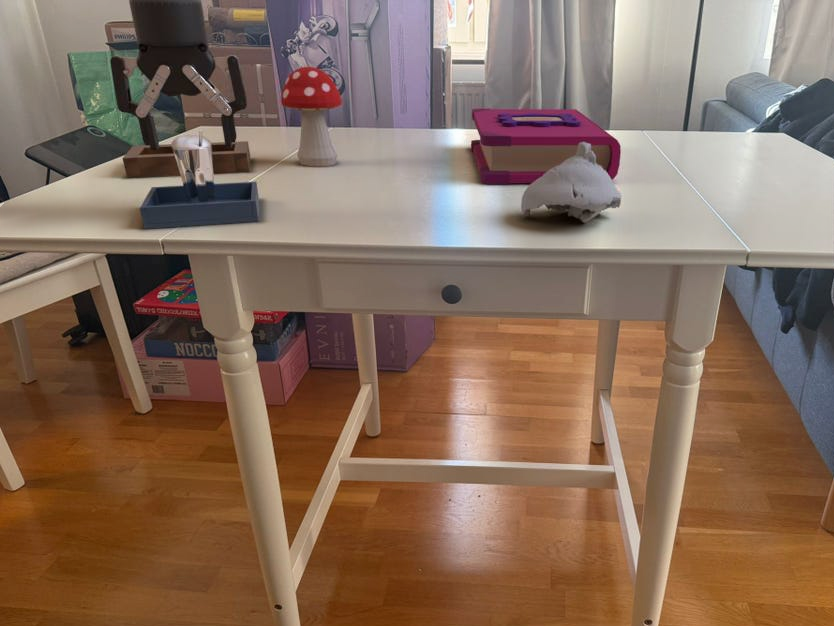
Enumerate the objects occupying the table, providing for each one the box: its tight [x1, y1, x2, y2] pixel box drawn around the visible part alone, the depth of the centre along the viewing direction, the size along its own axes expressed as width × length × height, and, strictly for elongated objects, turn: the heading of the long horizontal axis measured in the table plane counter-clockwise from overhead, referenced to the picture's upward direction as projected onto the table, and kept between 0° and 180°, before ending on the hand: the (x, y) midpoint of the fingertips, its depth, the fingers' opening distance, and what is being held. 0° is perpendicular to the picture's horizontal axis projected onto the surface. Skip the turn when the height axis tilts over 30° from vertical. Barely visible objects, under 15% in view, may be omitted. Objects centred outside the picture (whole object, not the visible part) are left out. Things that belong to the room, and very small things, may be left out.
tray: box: [139, 181, 260, 230], centre depth 86 cm, size 13×10×3 cm
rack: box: [121, 140, 251, 179], centre depth 109 cm, size 18×10×3 cm, turn 106°
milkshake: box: [170, 130, 216, 204], centre depth 84 cm, size 5×5×10 cm
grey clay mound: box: [520, 142, 622, 224], centre depth 84 cm, size 12×12×11 cm
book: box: [470, 108, 622, 185], centre depth 113 cm, size 21×28×8 cm
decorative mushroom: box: [280, 66, 343, 167], centre depth 110 cm, size 10×9×15 cm
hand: (192, 147), depth 83 cm, fingers open, 8 cm apart
